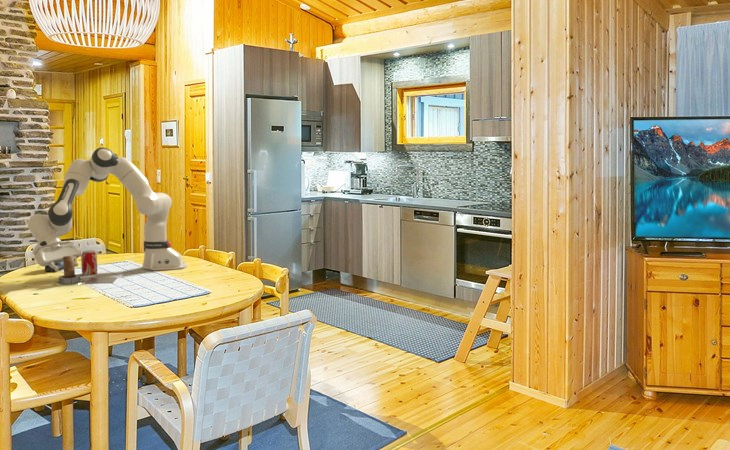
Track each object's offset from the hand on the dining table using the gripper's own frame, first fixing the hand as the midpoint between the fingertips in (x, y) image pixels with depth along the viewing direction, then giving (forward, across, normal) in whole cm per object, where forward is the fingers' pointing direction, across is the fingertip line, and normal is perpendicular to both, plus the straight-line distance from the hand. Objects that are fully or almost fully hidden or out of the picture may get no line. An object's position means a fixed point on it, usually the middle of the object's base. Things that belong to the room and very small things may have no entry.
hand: (67, 268), depth 288 cm
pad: (+13, -9, +2) cm, 16 cm away
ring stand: (+7, +2, -3) cm, 8 cm away
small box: (-17, -19, -31) cm, 40 cm away
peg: (+6, +2, -2) cm, 7 cm away
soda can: (+1, -17, -11) cm, 21 cm away
